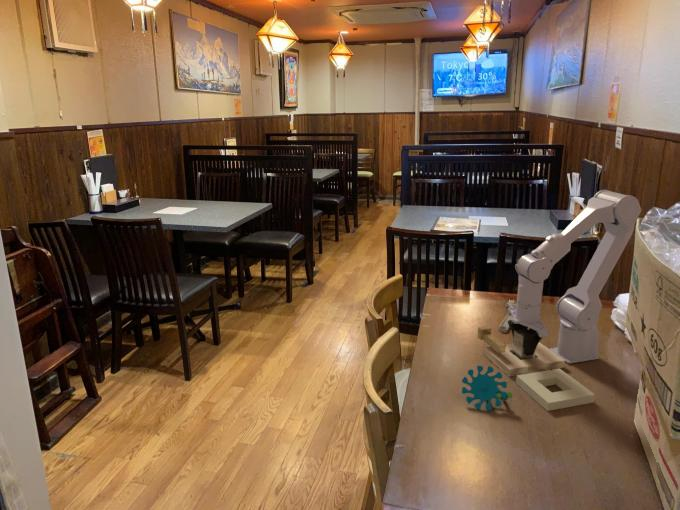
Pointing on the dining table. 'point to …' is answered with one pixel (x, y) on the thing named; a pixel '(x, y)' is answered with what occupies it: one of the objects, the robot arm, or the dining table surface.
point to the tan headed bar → (491, 339)
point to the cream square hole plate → (556, 400)
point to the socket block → (515, 366)
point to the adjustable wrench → (506, 318)
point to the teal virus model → (485, 388)
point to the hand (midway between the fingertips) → (523, 350)
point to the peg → (520, 346)
